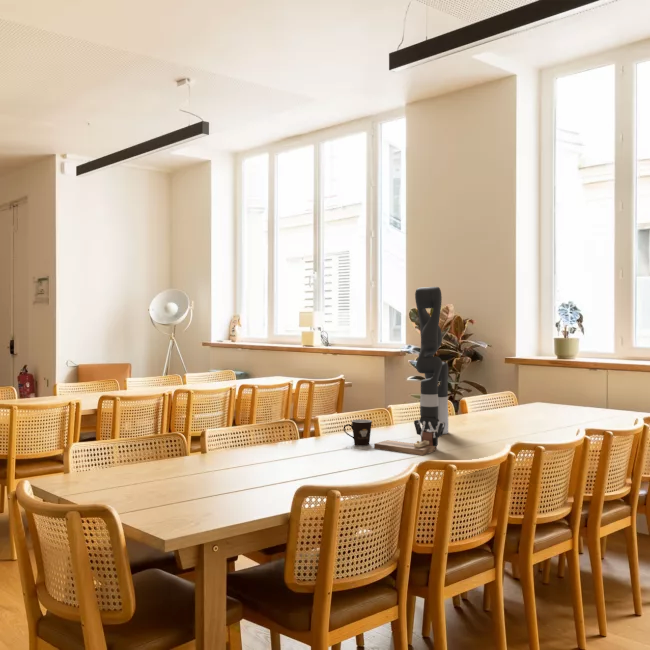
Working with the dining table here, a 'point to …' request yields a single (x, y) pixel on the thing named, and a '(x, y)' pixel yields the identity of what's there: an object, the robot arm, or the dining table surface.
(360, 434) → the coffee mug
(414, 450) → the plank
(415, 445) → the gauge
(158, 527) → the dining table surface
